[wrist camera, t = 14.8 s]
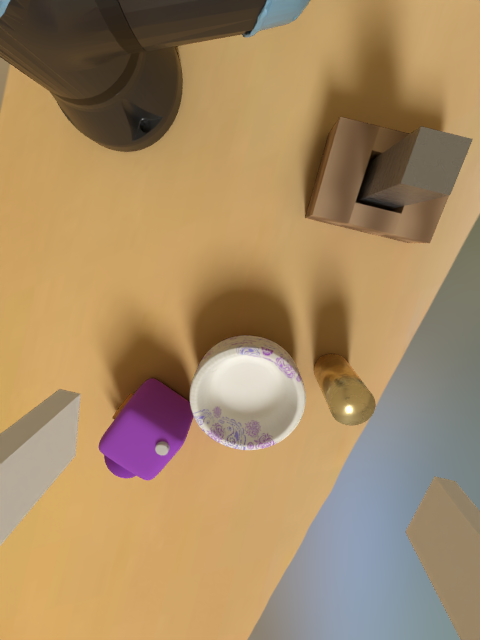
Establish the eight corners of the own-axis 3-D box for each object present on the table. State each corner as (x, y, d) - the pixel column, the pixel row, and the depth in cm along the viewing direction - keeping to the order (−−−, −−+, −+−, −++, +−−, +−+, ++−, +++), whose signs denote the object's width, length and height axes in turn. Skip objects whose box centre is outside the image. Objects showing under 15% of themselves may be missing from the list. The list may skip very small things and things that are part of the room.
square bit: (348, 204, 37) (400, 183, 24) (359, 169, 36) (421, 126, 22) (379, 211, 37) (449, 195, 24) (391, 176, 36) (472, 139, 22)
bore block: (305, 217, 38) (312, 214, 33) (328, 133, 35) (340, 116, 30) (407, 242, 38) (429, 243, 33) (439, 160, 35) (468, 148, 30)
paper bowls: (303, 331, 42) (314, 352, 34) (291, 421, 46) (299, 456, 39) (200, 323, 43) (188, 342, 35) (198, 413, 47) (187, 446, 39)
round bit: (309, 380, 44) (324, 419, 34) (319, 350, 43) (338, 382, 33) (342, 388, 44) (366, 429, 34) (353, 358, 43) (382, 392, 33)
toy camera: (112, 432, 49) (76, 480, 39) (140, 367, 45) (109, 402, 35) (170, 458, 49) (149, 511, 40) (202, 396, 46) (188, 438, 36)
